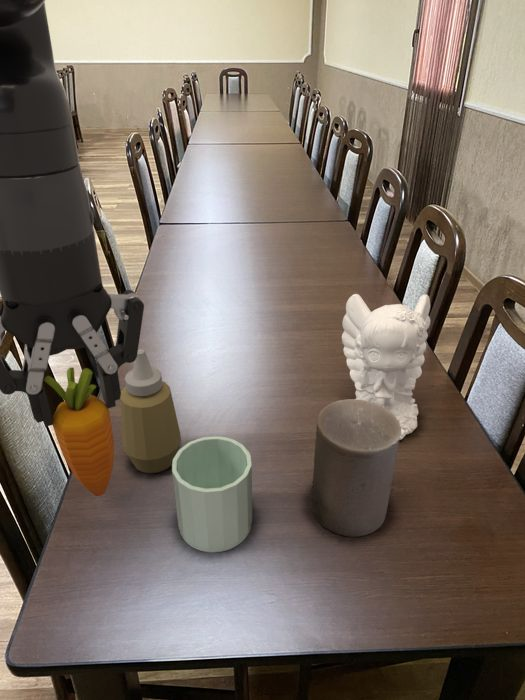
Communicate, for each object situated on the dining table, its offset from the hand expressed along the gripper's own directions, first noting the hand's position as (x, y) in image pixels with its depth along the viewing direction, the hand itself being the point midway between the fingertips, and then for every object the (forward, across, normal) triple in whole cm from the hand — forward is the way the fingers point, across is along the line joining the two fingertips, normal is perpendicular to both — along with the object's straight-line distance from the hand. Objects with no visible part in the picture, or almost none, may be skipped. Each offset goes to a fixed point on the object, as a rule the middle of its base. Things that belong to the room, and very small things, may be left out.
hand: (78, 411), depth 49 cm
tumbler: (+23, -13, -1) cm, 26 cm away
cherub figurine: (+23, -44, -8) cm, 50 cm away
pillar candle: (+23, -29, +5) cm, 37 cm away
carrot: (+11, 0, 0) cm, 11 cm away
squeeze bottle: (+23, -10, -15) cm, 30 cm away
